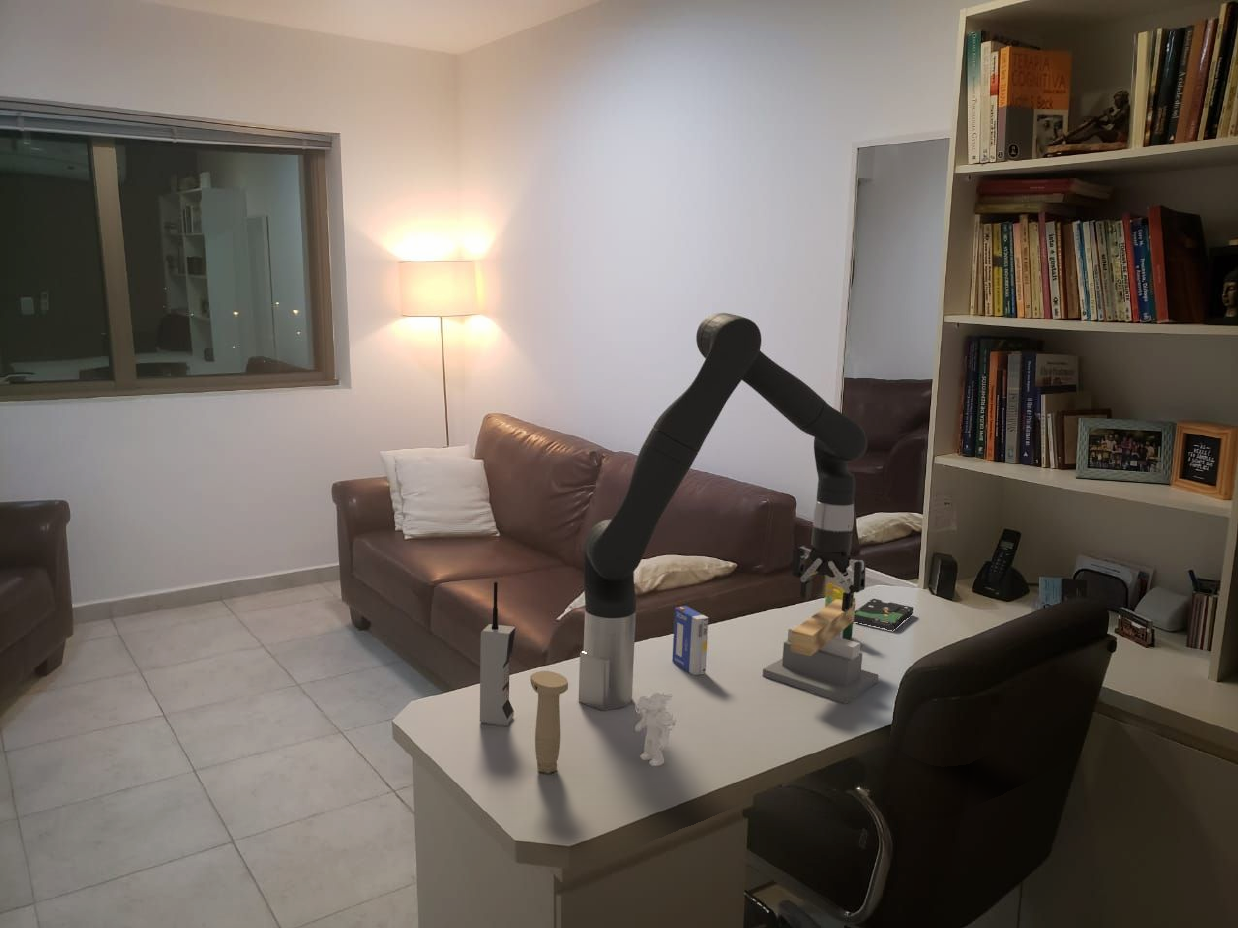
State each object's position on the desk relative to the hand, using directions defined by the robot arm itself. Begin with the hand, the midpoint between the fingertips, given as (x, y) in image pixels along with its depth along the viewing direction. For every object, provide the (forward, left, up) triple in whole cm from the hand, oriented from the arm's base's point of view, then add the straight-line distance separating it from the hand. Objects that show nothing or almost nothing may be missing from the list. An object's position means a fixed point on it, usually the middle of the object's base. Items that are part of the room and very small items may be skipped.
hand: (825, 605), depth 181 cm
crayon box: (+25, +9, -16) cm, 31 cm away
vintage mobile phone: (-57, +32, -16) cm, 67 cm away
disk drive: (+43, +6, -16) cm, 47 cm away
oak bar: (0, 0, -6) cm, 6 cm away
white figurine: (-49, +4, -16) cm, 52 cm away
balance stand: (0, 0, -15) cm, 15 cm away
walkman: (-14, +22, -16) cm, 30 cm away
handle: (-63, +14, -16) cm, 66 cm away
